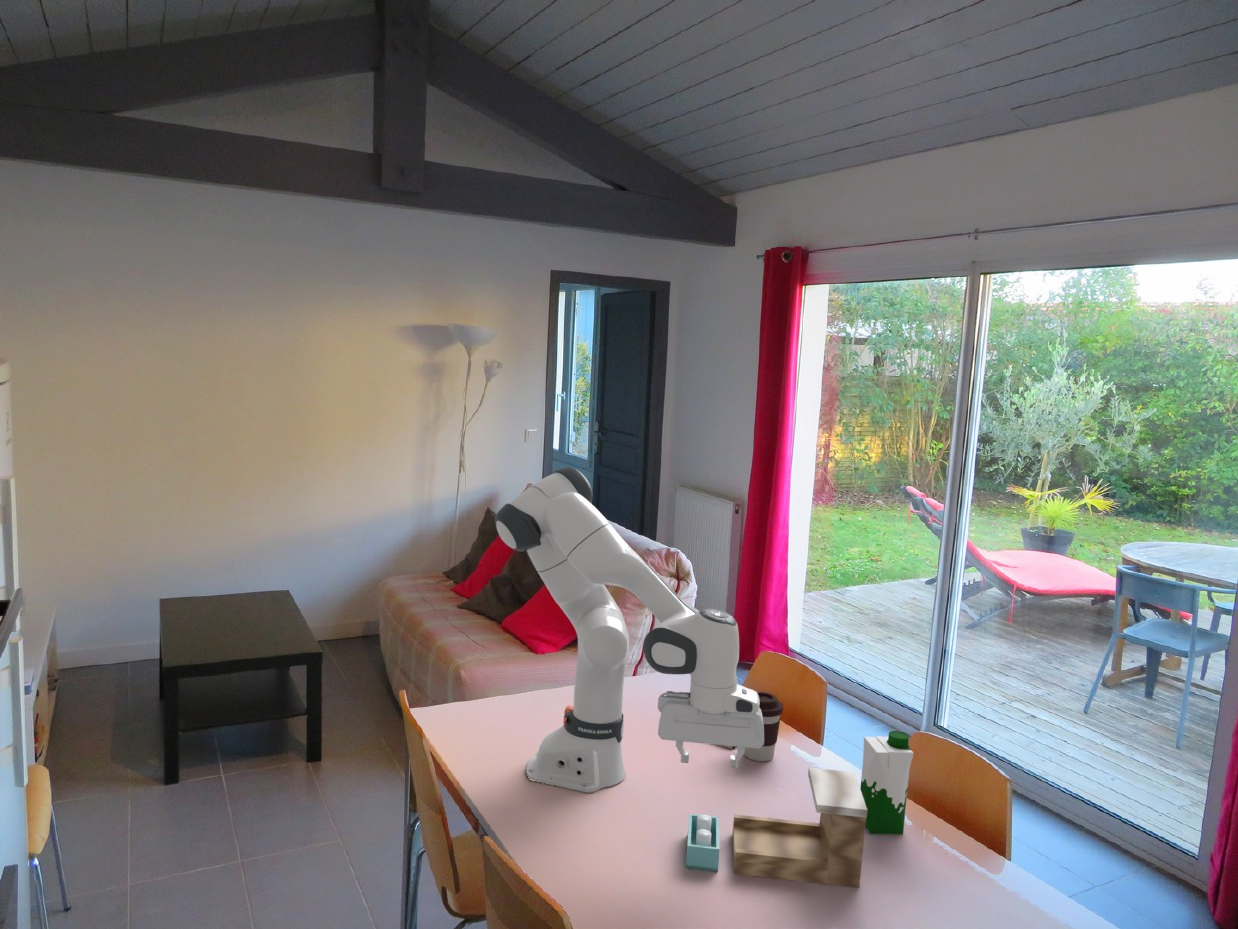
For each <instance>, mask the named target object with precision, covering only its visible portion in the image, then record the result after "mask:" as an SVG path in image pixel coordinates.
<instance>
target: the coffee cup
mask: <svg viewBox="0 0 1238 929" xmlns="http://www.w3.org/2000/svg"><path fill="white" fill-rule="evenodd" d="M756 692H757V693H758V696H759V700H760V705H759V708H760V709H761V712H762V716H763V725H764V745H763V746H762V747H761V748H759V749H757V748H747V747H745V752H744V754H743V756H745V757H746V758H747V759H749V760H751V761H755V762H763V763H764V762H769V761H771V760H772V759H773V758H774V756H775V750H776V745H777V741H778V736H779V732H780V731H779V730H780V722H781V719H780V717H781V715H782V714H783V712H784V704H783V703H782V702H781V701H780V700H779V698H778V697H777V696H776V695H775V694H773V693H771V692H766V691H756Z"/></svg>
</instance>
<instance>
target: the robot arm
mask: <svg viewBox="0 0 1238 929" xmlns="http://www.w3.org/2000/svg"><path fill="white" fill-rule="evenodd" d="M593 495H594V493H593V488H592V486H591V484H590V482H589V480H588V479H587V477H586V475H584V474H583V472H581V471H580V470H578V469H576V468H575V467H572V466H565V467H562V468H559V469H556V470H555V471H553V472H552V474H550V475H548V476H545V477H544V478H543V477H542V478H541V479H539V480H538V481H536V482H535V483H533V484H532V485H531V484H530V485H529V487H528V488H527V489H526V490H524V491H523V492H521V493H520V494H518V495H517V496H516V497H515V498H513V500H511V501H510V502H509V503H506V504H504V505H503V506H501V508H500V509H499V510H498V511H497V513H496V514H495V518H494V524H495V528H496V530H497V533H498V536H499V537H500V539H501V540H502V542H504V544H505V545H506V546H508V548H510V549H512V550H513V551H516V552H525V551H526V552H527V555H528V557H529V559H530V561H531V564H532V565H533V567H534V569H535V570H536V572H537V574H538V575H539V576H540V579H541V580H542V582H543V583H544V585H545V586H546V589H547V590H548V591H549V593H550V595H551V597H552V598H553V600H554V601H555V603H556V604H557V605H558V606H559V608H560V609H561V611H563V613H564V615H565V616H566V617H567V618H568V620H569V621H570V623H571V624H572V626H573V628H574V629H575V632H576V636H577V656H576V657H577V658H576V668H575V675H574V676H575V677H574V687H573V688H574V689H573V706H572V705H567V706H566V707H565V709H564V715H563V725H562V726H561V727H559V728H557V729H556V730H554V731H553V732H551V733H548V734H547V735H546V736H545V737H544V738H543V740H541V743H540V745H539V748H538V751H537V752H536V753H535V754H534V755H532V756H531V757H530V758H529V759H528V761H527V765H526V769H525V774H526V773H527V776H528V778H529V779H532V780H535V781H539V782H542V783H541V784H544V783H546V784H545V785H549V784H550V785H549V786H554V785H557V786H556V787H559V786H561V787H560V788H563V787H564V789H570V790H575V791H579V792H583V793H589V794H590V793H594V792H596V791H598V790H600V789H604V788H607V787H608V788H609V787H612V786H615V785H617V784H620V783H621V782H622V781H623V780H624V779H625V778H626V770H625V769H626V768H625V765H624V759H623V752H622V751H623V750H622V748H623V747H622V741H623V738H624V725H625V723H624V722H625V721H624V713H623V700H624V684H625V677H626V670H627V665H628V655H629V646H630V635H629V633H630V632H629V631H628V627H627V624H626V621H625V618H624V615H623V612H622V611H621V609H620V607H619V606H618V605H617V603H616V601H615V599H614V597H613V596H612V594H611V593H610V591H609V590H608V588H607V587H606V585H607V586H616V587H620V588H623V589H625V590H628V591H629V592H631V593H632V594H633V595H635V597H637V599H639V600H640V602H641V603H642V604H643V605H644V606H645V607H646V608H647V609H648V610H649V612H651V613H652V615H653V616H654V617H655V618H656V619H657V620H658V622H659V624H657V625H656V626H655V627H653V628H652V629H650V631H649V632H648V633H646V636H645V638H644V639H643V643H642V644H643V645H642V650H643V656H644V658H645V660H646V662H647V664H648V665H649V666H650V667H651V668H652V669H653V670H654V671H656V672H658V673H659V674H660V673H661V674H666V675H689V676H690V684H689V685H690V686H689V691H688V692H685V691H672V690H667V691H666V692H663V693H662V694H661V693H660V695H659V697H658V700H657V709H658V711H659V712H660V716H659V722H658V727H657V728H658V729H657V735H658V737H659V738H660V739H661V740H664V741H674V742H675V747H676V749H677V751H678V753H679V754H680V763H683V764H688V763H689V762H690V761H689V760H690V759H689V758H690V757H689V756H690V751H688V750H685V748H684V742H685V743H692V744H693V743H695V744H706V745H716V746H722V745H725V746H736V748H737V749H736V753H735V754H734V755H732V754H730V759H729V760H730V763H729V764H730V765H729V767H730V768H735V769H738V768H739V760H740V759H741V758H742V756H744V752H745V747H747V748H757V749H759V748H761V747H762V746H763V745H764V725H763V716H762V712H761V709H760V708H759V705H760V700H759V696H758V693H757V692H758V691H756V690H754V689H751V688H748V687H745V686H743V685H741V684H739V683H738V677H737V666H738V663H739V660H740V659H739V658H740V635H739V626H738V622H737V621H736V619H735V618H734V617H733V616H732V615H731V614H730V613H729V612H726V611H724V610H721V609H717V608H707V607H706V608H701V609H700V610H699V609H697V608H696V607H694V606H692V605H691V604H688V603H687V602H686V601H685V600H683V599H682V597H680V596H679V595H678V593H676V592H675V591H674V590H673V589H672V587H671V586H670V585H669V584H668V583H667V582H666V581H665V580H664V579H663V578H662V577H661V576H660V575H659V573H658V572H657V571H656V570H654V569H653V567H652V566H651V565H650V564H649V563H648V562H647V561H646V560H645V559H644V558H642V557H641V556H640V555H639V554H638V553H637V552H636V551H635V550H634V549H632V548H631V546H630V545H629V544H628V543H627V542H626V541H625V540H624V538H622V536H621V535H620V534H619V533H618V531H617V530H616V529H615V528H614V526H613V525H612V524H611V523H610V521H609V520H607V517H605V516H604V515H603V514H602V513H601V512H600V511H599V509H598V508H596V506H594V505H593V504H592V501H593V497H594V496H593ZM725 746H724V747H725ZM527 776H526V777H527ZM528 778H527V779H528ZM529 779H528V780H529ZM539 782H538V783H539Z"/></svg>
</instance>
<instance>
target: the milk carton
mask: <svg viewBox="0 0 1238 929" xmlns="http://www.w3.org/2000/svg"><path fill="white" fill-rule="evenodd" d="M909 739H910V736H909V735H908V733H906V732H903V731H898V730H892V731H889V732H888V736H880V735H875V736H863V754H862V768H861V776H860V778H861V779H860V789H861V792H862V795H863V798H864V801H865V804H866V807H867V818H866V824H865V830H867V832H868V833H869V834H870V835H904V830H905V829H904V828H905V827H904V826H905V818H906V806H907V798H908V789H909V788H908V786H909V777H910V768H911V765H912V761H913V757H914V751H912V748H910V744H909Z"/></svg>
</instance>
